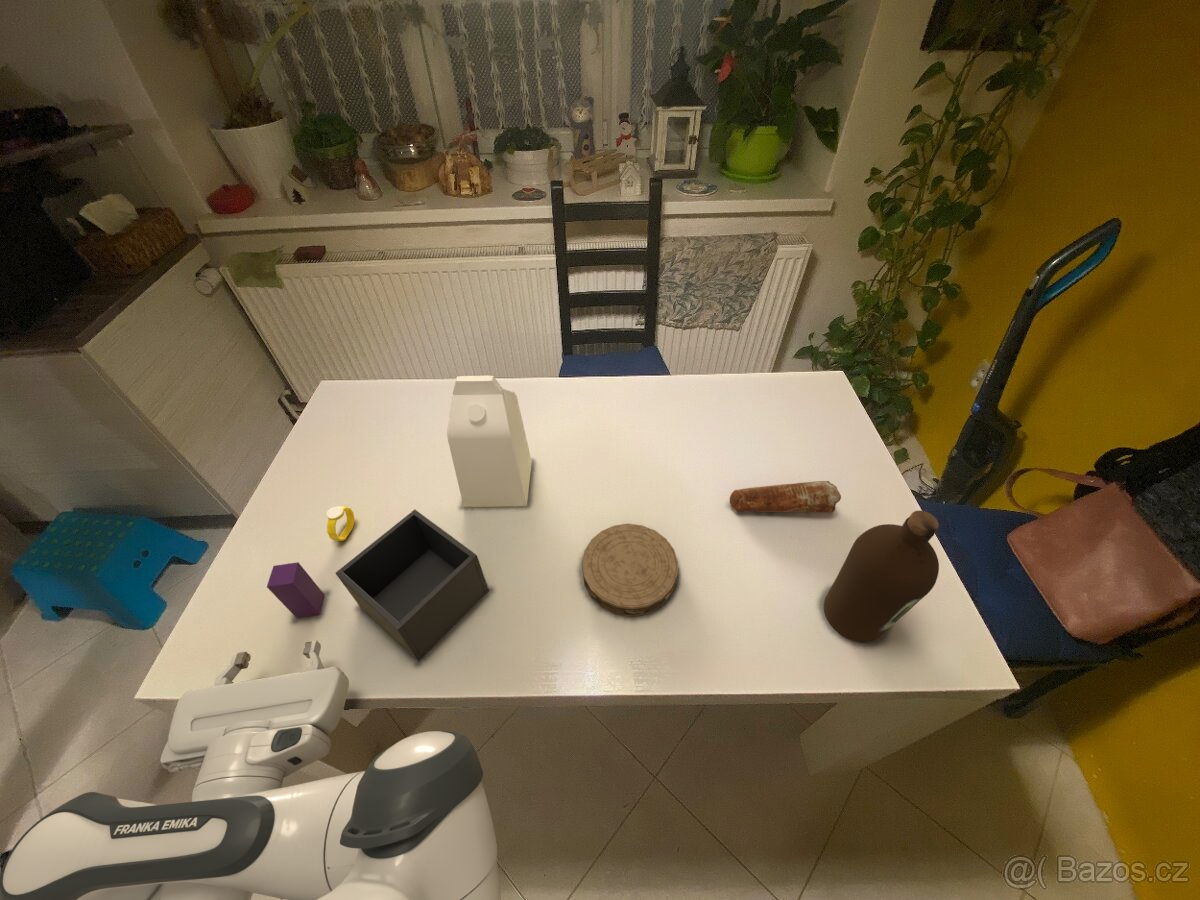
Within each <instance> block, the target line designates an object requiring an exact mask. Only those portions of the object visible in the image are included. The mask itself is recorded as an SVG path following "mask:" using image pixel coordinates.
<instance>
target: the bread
mask: <svg viewBox="0 0 1200 900" xmlns="http://www.w3.org/2000/svg"><path fill="white" fill-rule="evenodd" d="M841 499H842V495H841V493H840V491H839V490H838V488H837V486H836V485H835V484H834V483H831V482H830V481H829V480H817V481H805V482H797V483H784V484H773V485H766V486H765V485H763V486H755V487H747V488H740V489H734V490H733V491H732V493H731V494H730V495H729V504H730V507H731V508H732V509H733V510H734V511H736V512H760V513H763V512H764V513H818V514H825V513H826V514H830V513H831V514H832V513H834V512H835V510H836V505H837V504H838V503H839V502H840V501H841Z"/></svg>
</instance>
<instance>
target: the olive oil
mask: <svg viewBox="0 0 1200 900" xmlns="http://www.w3.org/2000/svg"><path fill="white" fill-rule="evenodd" d="M939 526H940V524H939V521H938V519H937V517H935V516H934V515H933V514H931V513H930V512H927V511H925V510H914V511H913V512H911V514H910V515H909V517H907V518H906V519H905V521H904V522H903V523H902V525H900V524H893V523H892V524H891V523H888V524H887V523H886V524H878V525H876V526H873V527H870V528H869V529H867V530H865V531H864V532H863V533H861V534H860V535H858V537H857V538H856V539H855V541H854V542H853V544H852V545H851V547H850V550H849V552H848V553H847V556H846V557H845V560H844V561H843V564H842V566H841V568H840V570H839V571H838V574H837V576H836V578H835V579H834V581H833V583H832V584H831V587H830V588H829V590H828V592H827V593H826V595H825V598H824V601H823V612H824V615H825V618H826V619H827V621H828V623H829V624H830V626H831V627H832V628H833V629H834V630H835V631H836V632H837V633H839V634H840V635H841V636H843V637H844V638H846V639H848V640H851V641H853V642H858V643H863V644H864V643H867V644H868V643H873V642H875V641H877V640H879V639H880V638H882V637H883V636H884V635H885V634H886V633H887V632H888V631H889V630H890V629H891V628H892V627H893V626H894V625H895V624H896V623H898V621H900V620H901V619H902V618H903V617H904V616H905V615H906V614H907V613H908V612H910V611H911V609H913V608H914V607H915V606H916V605H917V604H918V603H919V602H921V600H923V599H924V598H925V597H926V596H927V595H928V594H929V593H930V592H931V591H932V589H933V588H934V587H935V585H936V583H937V580H938V577H939V572H940V562H939V557H938V555H937V553H936V550H935V549H934V547H933V545H932V544H931V543H930V540H931V539H932V538H933V537H934V536H935V533H936V531H937V530H938V528H939Z"/></svg>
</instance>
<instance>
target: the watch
mask: <svg viewBox="0 0 1200 900" xmlns="http://www.w3.org/2000/svg"><path fill="white" fill-rule="evenodd" d="M325 514H326V517H327V519H328V520H327V524H326V531H327V535H328V537H329V539H330V540H332V541H334V542H335V541H338V542H343V541H345V540H347V539H348V536H349V535H350V533H351V532H352V530H353V529H354V526H355V514H354V511H353V510H352V508H350V507H349V506H341V505H339V506H338V505H336V506H333V507H331V508H329V509H328V510H327V511H326V513H325ZM344 515H345V518H346V522H345V527H344V529H343V530H342V532H341V533H340V535H339V536H338V534H337V532H336V531H337V530H336V529H337V528H336V524H337V521H338V520H340V519H341V518H343V516H344Z"/></svg>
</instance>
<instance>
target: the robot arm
mask: <svg viewBox="0 0 1200 900" xmlns="http://www.w3.org/2000/svg"><path fill="white" fill-rule="evenodd" d="M321 645H322V644H321V643H320V641H319V640H312V641H311V640H310V641H306V642H305V643H304V648H303V650H302V655H303V656H305V658H307V659H310V661H311V663H308V664H307V667H306V670H305V671H300V672H295V673H294V672H293V673H288V674H287V673H286V674H281V675H275V676H269V677H263V678H257V679H250V680H243V681H239V682H237V681H236V682H234V679H236V677H237V676H238V674H239V673H240V672H241V671H242V670H244V669H248V668H249V665H250V661H251V654H250V653H248V652H247V651H242V652H241V651H240V652H235V653H233V654H232V657H231V660H230V663H229V665H227V666H226V667H225V668H224V669H223V671H221V673H220V674H219V675H217V677H216V678H215V679H214V683H213V685H212V686H206V687H199V688H193V689H189V690H187V691H186V692H185V693H184V694H183V695H182V696H181V697H180V698H179V699H178V700H177V703H176V706H175V709H174V712H173V715H172V718H171V722H170V726H169V731H168V738H167V742H166V743H165V745H164V748H163V751H162V753H161V756H160V764H161V766H162V768H163V769H165V770H167V771H168V773H178V772H181V771H183V770H193V769H199V772H198V775H197V778H196V781H195V784H194V787H193V789H192V793H191V801H186V802H174V803H165V804H164V803H163V804H156V803H150V802H149V803H148V802H142V801H137V800H131V799H125V798H117V797H116V796H114V795H110V794H105V793H101V792H96V791H88V792H85V793H82V794H80V795H79V794H78V796H75V797H74V798H71V799H70V800H68V801H66V802H64V803H62V804H61V805H59V806H58V807H56V808H55V809H53V810H52V811H50V812H49V813H47V814H45V815H44V816H43V817H42V818H40V819H39V820H38V821H36V822H35V823H34V824H33V825H32V826H31V827H29V829H28V830H26V831H25V832H24V833H23V835H22V836H21V837H20V838H19V839H18V840H17V842H16V843H15V844H14V845H13V847H12V849H11V850H10V852H9V853H8V855H7V857H6V859H5V860H4V863H3V866H2V869H1V871H0V900H252V897H253V895H254V894H257V895H261V896H266V897H271V898H277V899H279V900H280V899H281V900H502V894H501V893H502V891H501V883H500V881H501V880H500V872H499V871H500V870H499V863H498V854H499V853H498V852H499V850H498V844H497V838H496V832H495V826H494V823H493V818H492V813H491V809H490V805H489V802H488V799H487V794H486V790H485V787H484V785H483V781H482V780H483V778H484V771H483V768H482V764H481V762H480V758H479V756H478V753H477V751H476V749H475V746H474V744H473V742H472V741H471V739H470V738H469V737H468V736H466V735H464V734H462V733H459V732H457V731H454V730H450V729H449V730H447V729H445V730H435V731H432V730H431V731H424V732H418V733H416V734H415V733H414V734H412V735H410V736H407V737H405V738H402V739H401V740H399V741H397V742H396V743H395V744H393V745H392V746H390V747H388V748H386V749H385V750H383V751H382V752H380V753H379V754H377V755H376V756H375V757H374V758H373V759H372V760H371V762H370V763H369V765H368V766H367V768H366V770H362V771H357V772H350V773H345V774H341V775H335V776H331V777H325V778H321V779H317V780H312V781H307V782H303V783H299V784H294V785H289V786H284V787H282V786H283V781H284V779H285V778H286V777H288V776H290V775H292V774H294V773H295V772H297V771H299V770H301V769H303V768H305V767H307V766H309V765H311V764H313V763H315V762H317V761H319V760H321V759H323V758H325V757H327V755H329V753H330V751H331V748H332V740H331V738H330V736H329V735H330V734H331V733H333V731H334V730H335V729H336V728H337V727H338V725H339V723H340V721H341V718H342V715H343V711H344V709H345V705H346V701H347V696H348V692H349V687H350V680H349V678H348V676H347V674H346V673H345V672H344V671H343V670H342V669H340V667H338V666H331V667H325V666H324V663H323V662H322V659H321V657H320V653H321V648H322V646H321Z"/></svg>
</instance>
